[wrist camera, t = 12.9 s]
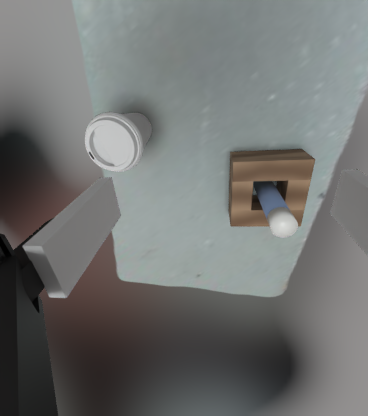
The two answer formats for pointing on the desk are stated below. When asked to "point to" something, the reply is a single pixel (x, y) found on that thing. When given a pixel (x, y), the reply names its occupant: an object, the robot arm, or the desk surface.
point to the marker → (275, 209)
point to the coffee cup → (117, 139)
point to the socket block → (268, 171)
